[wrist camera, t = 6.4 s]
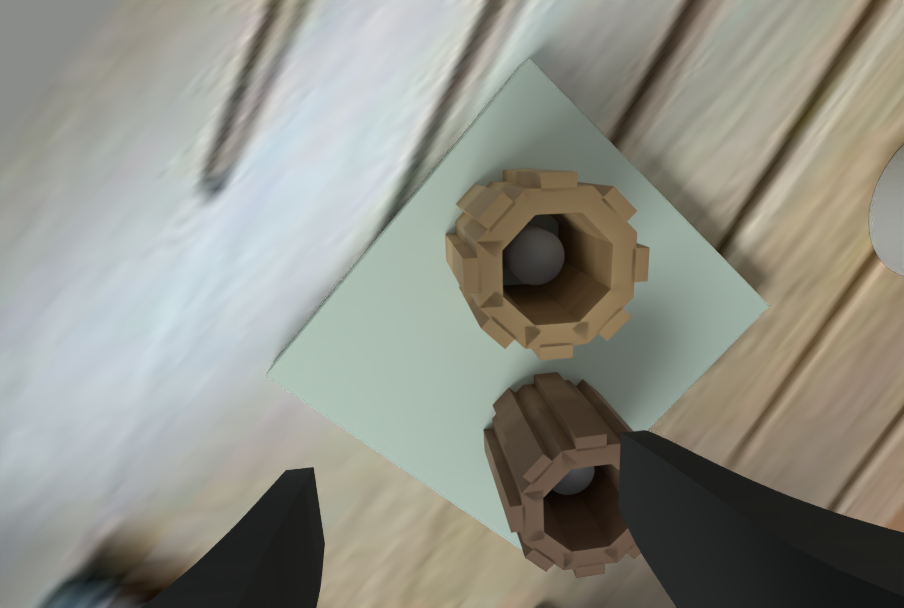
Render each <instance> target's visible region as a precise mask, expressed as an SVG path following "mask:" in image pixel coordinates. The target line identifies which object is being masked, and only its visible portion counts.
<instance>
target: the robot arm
mask: <svg viewBox="0 0 904 608" xmlns="http://www.w3.org/2000/svg"><path fill="white" fill-rule="evenodd" d="M618 507H619V510H620V512H621V514H622V516H623V518H624V520H625V523H626V525H627V527H628V529H629V531H630V533H631V535H632V537H633V539H634V541H635V543H636V545H637V547H638V549H639V550H640V552H641V553H642V555H643V557H644V558H645V560H646V561H647V563H648V564H649V566H650V567H651V569H652V571H653V572H654V574H655V575H656V577H657V578H658V580H659V581H660V583H661V584H662V586H663V588H664V589H665V591H666V592H667V594H668V595H669V597H670V598H671V600H672V601H673V603H674V604H675V606H676V607H677V608H904V533H903V532H899V531H895V530H891V529H888V528H884V527H881V526H878V525H874V524H871V523H867V522H864V521H861V520H857V519H854V518H850V517H847V516H844V515H841V514H838V513H835V512H832V511H829V510H826V509H823V508H820V507H818V506H815V505H812V504H809V503H807V502H804V501H801V500H798V499H796V498H793V497H790V496H788V495H785V494H783V493H780V492H778V491H775V490H773V489H771V488H768V487H766V486H764V485H761V484H759V483H757V482H754V481H752V480H750V479H748V478H745V477H743V476H741V475H739V474H737V473H734V472H732V471H730V470H728V469H726V468H724V467H722V466H720V465H718V464H716V463H714V462H712V461H709V460H707V459H705V458H703V457H701V456H699V455H697V454H695V453H693V452H691V451H689V450H687V449H685V448H683V447H681V446H679V445H677V444H675V443H673V442H671V441H669V440H667V439H665V438H663V437H661V436H659V435H656V434H654V433H652V432H649V431H646V430H642V431H633V432H624V433H621V440H620V470H619V499H618ZM324 546H325V542H324V535H323V528H322V522H321V515H320V508H319V501H318V494H317V488H316V481H315V474H314V467H311V468H302V469H294V470H286V471H285V472H284V473H283V474H282V475H281V476H280V477H279V478H278V480H277V481H276V482H275V483H274V484H273V485H272V486H271V487H270V488H269V489H268V491H267V492H266V493H265V494H264V495H263V496H262V497H261V498H260V499H259V501H258V502H257V503H256V504H255V505H254V506H253V507H252V508H251V509H250V510H249V511H248V513H247V514H246V515H245V516H244V517H243V518H242V519H241V520H240V521H239V522H238V523H237V524H236V525H235V526H234V527H233V528H232V529H231V530H230V531H229V532H228V533H227V534H226V535H225V536H224V537H223V538H222V539H221V540H220V541H219V542H218V543H217V544H216V545H215V546H214V547H213V548H212V549H211V550H210V551H209V552H208V553H207V554H205V555H204V556H203V557H202V558H201V559H200V560H199V561H198V562H197V563H196V564H195V565H194V566H192V567H191V568H190V569H189V570H188V571H187V572H185V573H184V574H183V575H182V576H181V577H180V578H178V579H177V580H176V581H175V582H173V583H172V584H171V585H170V586H168V587H167V588H166V589H165V590H164V591H162V592H161V593H160V594H159V595H157V596H156V597H155V598H153V599H152V600H151V601H150V602H148V603H147V604H145V605H144V606H143V607H141V608H316V606H317V602H318V597H319V592H320V587H321V578H322V569H323V558H324Z"/></svg>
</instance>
